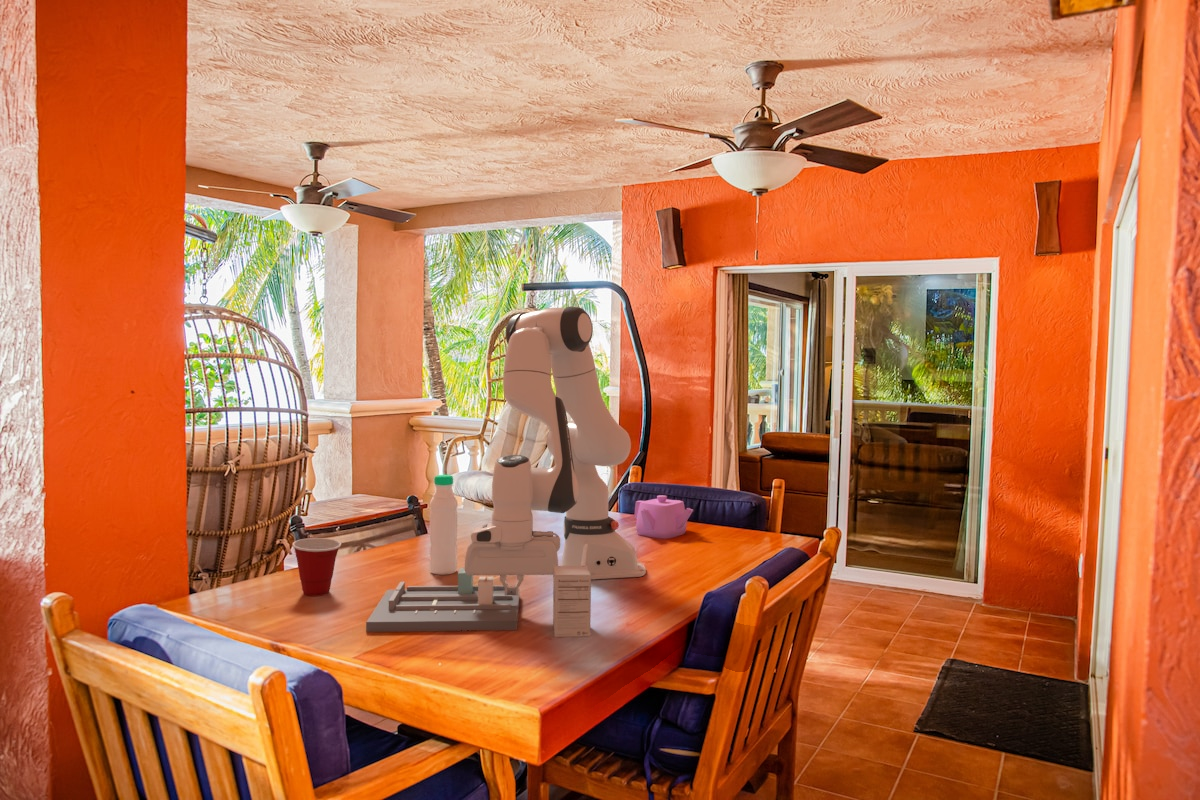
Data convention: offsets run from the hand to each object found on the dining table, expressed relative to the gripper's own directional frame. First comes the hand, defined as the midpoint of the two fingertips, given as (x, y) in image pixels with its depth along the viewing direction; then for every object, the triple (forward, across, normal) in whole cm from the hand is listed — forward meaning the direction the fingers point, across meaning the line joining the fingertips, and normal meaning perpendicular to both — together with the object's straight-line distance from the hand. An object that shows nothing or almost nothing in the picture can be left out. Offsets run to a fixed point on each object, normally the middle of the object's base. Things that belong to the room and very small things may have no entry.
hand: (511, 594), depth 181 cm
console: (+4, +14, 0) cm, 14 cm away
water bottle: (+4, +18, -36) cm, 41 cm away
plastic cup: (+4, +46, -17) cm, 49 cm away
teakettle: (+4, -46, -83) cm, 95 cm away
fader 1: (+2, +11, -8) cm, 13 cm away
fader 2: (+2, +6, 0) cm, 6 cm away
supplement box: (+4, -12, +13) cm, 18 cm away
